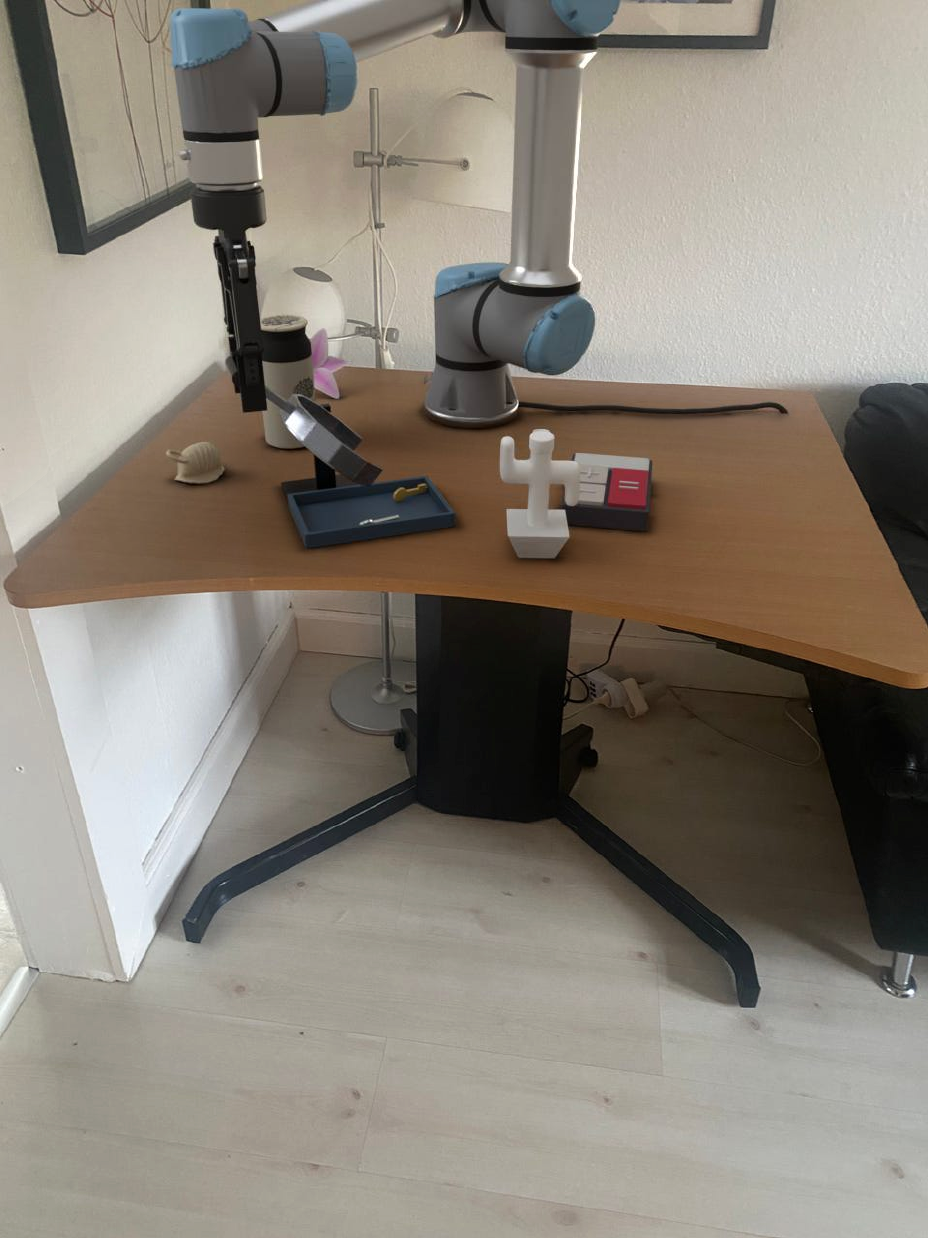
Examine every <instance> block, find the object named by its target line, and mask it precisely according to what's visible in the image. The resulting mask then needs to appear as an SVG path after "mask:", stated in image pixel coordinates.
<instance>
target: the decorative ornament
mask: <svg viewBox="0 0 928 1238" xmlns="http://www.w3.org/2000/svg"><path fill="white" fill-rule="evenodd" d="M165 453H166V456H167V457H168V458H169V459H171V460H172V461H174V462H176V463H177V474H176V476H175V478H174V481H179V482H183V483H188V484H198V485H199V484H209V483H211V482H215V481H216V480H218V479H219V477H220V476H222V475H223V473H224V472H225V470H226V469H225V466H224V465H223V460H222V457H221V453H220V451H219V450H218V449H217V447H216V446H215V445H214V444H213V443H211V442H209V441H200V442H197V443H193V444H190V445H189V446H187V447H186V448H185V449H183V451H182V452H181V451H179V450H176V449H168V450H167V451H166V452H165ZM174 455H176V456H174ZM177 456H178V457H177Z"/></svg>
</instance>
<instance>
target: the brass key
mask: <svg viewBox="0 0 928 1238" xmlns="http://www.w3.org/2000/svg"><path fill="white" fill-rule="evenodd" d="M427 488H428V487H427V486H426V484H420V485H418V486H417V488H413V489H408V490H406V489H405V488H402V487H401V488H399V489H397V490H396V491H395V493H394V495H393V498H394V500H395V501H401V500H403V499H404V498H405V496H410V495H415V494H419V493H424V492H426V491H427Z"/></svg>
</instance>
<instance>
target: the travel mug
mask: <svg viewBox="0 0 928 1238" xmlns="http://www.w3.org/2000/svg"><path fill="white" fill-rule="evenodd" d="M260 323H261V332H262V342H263V345H264V353H263V354H262V362H263V372H264V382H265V386H267V387H268V388H270V389H271V390H273V391H274V392H275V393H277V394H278V395H280V396H281V397H282V398H284V399H285V400H287V401H288V400H289V399H290V398H291V396H292V395H293V394H302V395H303V396H305V397H307V398H309V399H310V400H312V401H314V402H316V403H317V401H316V388H315V387H314V375H313V362H312V350H311V342H310V339H309V337H308V335H307V333H306V331H307V329H306V328H307V325H308V323H309V322H308V320H307V319H306V317H304V316H300V315H296V314H272V315H266V316H262V317H260ZM266 401H267V410H266V411H262V419H263V420H262V421H263V428H264V438H265V442H266V443H267V444H268V445H269V446H272V447H275V448H277V449H284V450H285V449H286V450H294V449H301V448H306V447H305V446H304V445H303V444H302V443H301V442H300V441H299V440H298V439H297V438H296V437H295V436H294V435H293V434H292V433H291V432H290V431H289V429H288V428H287V427H286V425H285V424H284V422H283V420H282V416H281V414H280V411H281V408H280V407H278V406H277V405H276V404H274V403H273V402H271V401H270V400H268V399H267V398H266Z"/></svg>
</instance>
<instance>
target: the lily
mask: <svg viewBox="0 0 928 1238" xmlns="http://www.w3.org/2000/svg"><path fill="white" fill-rule="evenodd" d="M309 340H310V342H311V350H312V362H313V375H314V387H315V390H318V391H320V392H322V393H323V394H325V395H327V396H329V397H331V398H334V399H336V400H337V399H340V391H339V388H338V387H339V386H338V384H337V382H336V379H335V376H334V373H335V372H338V371H339V370H341V369H342V368H344V367H346V365H347V364H348V361H346V360H345V359H342V358H340V357H336V356H334V355H333V356H332V355H329V338H328V332H327V330H326V328H323V327H322V328H320V329H319V330H318V331H316V332H315V333H314V335H312V336H311V338H310V339H309Z"/></svg>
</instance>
